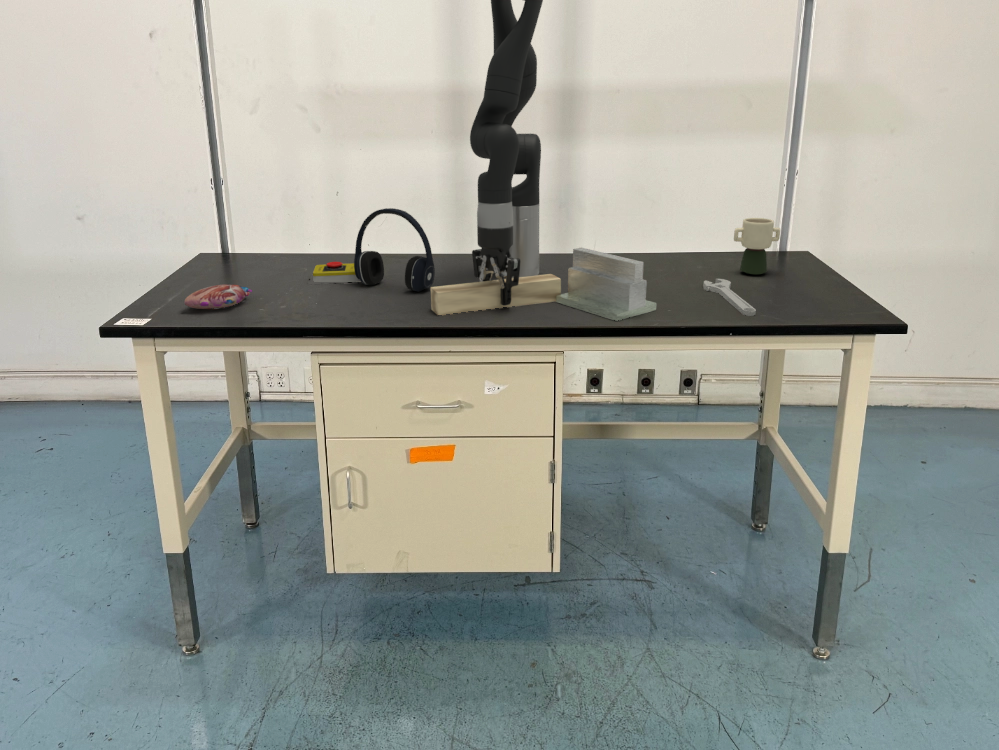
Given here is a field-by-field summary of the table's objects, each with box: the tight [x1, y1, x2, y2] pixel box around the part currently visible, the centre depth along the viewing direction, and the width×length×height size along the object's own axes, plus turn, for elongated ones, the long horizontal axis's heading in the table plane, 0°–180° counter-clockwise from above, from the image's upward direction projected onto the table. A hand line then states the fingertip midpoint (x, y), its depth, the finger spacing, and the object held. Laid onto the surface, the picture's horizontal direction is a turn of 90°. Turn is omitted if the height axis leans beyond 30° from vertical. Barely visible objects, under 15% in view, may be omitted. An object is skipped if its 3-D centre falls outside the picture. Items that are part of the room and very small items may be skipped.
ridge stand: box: [555, 247, 657, 322], centre depth 169 cm, size 18×12×11 cm, turn 39°
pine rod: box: [430, 273, 562, 316], centre depth 172 cm, size 5×28×5 cm, turn 111°
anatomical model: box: [184, 283, 253, 310], centre depth 175 cm, size 11×6×15 cm
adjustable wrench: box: [702, 278, 757, 317], centre depth 175 cm, size 25×6×2 cm, turn 179°
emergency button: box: [312, 261, 360, 282], centre depth 195 cm, size 9×4×15 cm
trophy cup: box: [733, 217, 781, 275], centre depth 193 cm, size 11×7×13 cm, turn 89°
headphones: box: [353, 207, 436, 292], centre depth 184 cm, size 20×7×18 cm, turn 63°
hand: (496, 301), depth 173 cm, fingers closed on pine rod, 6 cm apart
